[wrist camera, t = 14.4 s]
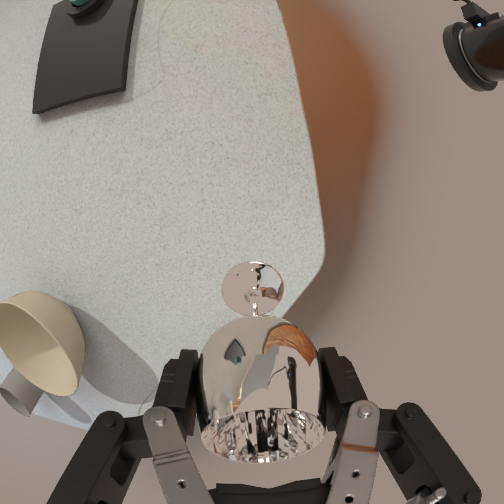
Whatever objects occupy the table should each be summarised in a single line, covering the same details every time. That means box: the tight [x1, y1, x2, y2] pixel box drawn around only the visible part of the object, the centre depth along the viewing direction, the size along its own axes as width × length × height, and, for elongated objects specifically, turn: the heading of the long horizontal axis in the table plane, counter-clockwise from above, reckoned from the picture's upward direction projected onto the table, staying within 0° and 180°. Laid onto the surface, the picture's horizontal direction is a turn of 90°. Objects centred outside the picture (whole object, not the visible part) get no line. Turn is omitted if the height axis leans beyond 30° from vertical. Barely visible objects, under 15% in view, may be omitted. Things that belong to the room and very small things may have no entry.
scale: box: [32, 0, 138, 114], centre depth 19 cm, size 19×14×3 cm
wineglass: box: [194, 261, 327, 463], centre depth 14 cm, size 6×6×12 cm
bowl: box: [0, 291, 85, 396], centre depth 29 cm, size 16×16×10 cm
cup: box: [0, 367, 44, 417], centre depth 34 cm, size 8×8×10 cm
